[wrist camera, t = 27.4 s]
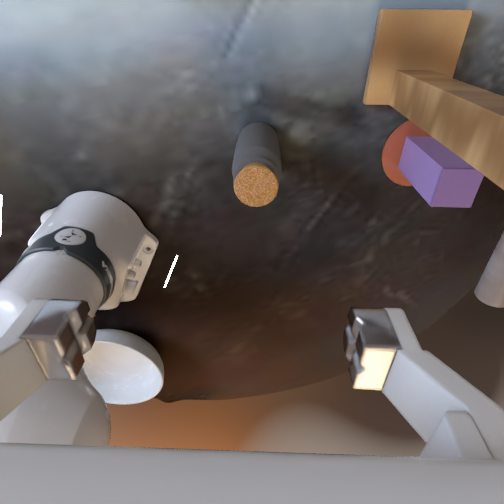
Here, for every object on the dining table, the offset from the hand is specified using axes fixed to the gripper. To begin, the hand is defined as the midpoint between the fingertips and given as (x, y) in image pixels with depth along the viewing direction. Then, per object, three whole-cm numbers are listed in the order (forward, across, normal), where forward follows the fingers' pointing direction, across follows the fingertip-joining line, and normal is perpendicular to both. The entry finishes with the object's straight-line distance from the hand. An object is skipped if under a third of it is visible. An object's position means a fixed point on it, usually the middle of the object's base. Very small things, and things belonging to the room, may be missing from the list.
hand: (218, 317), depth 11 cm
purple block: (+35, +23, -11) cm, 43 cm away
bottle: (+41, +1, -7) cm, 42 cm away
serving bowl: (+41, -28, -53) cm, 72 cm away
